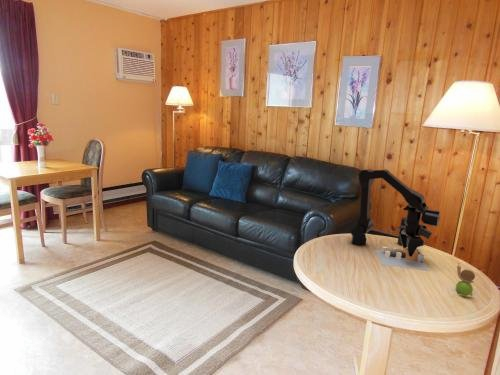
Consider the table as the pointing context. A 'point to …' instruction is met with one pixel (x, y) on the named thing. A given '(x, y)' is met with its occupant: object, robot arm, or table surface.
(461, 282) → the snail figurine
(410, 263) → the board
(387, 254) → the clips
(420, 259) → the bracket
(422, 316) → the table surface
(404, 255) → the plug
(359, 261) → the table surface
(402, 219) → the deodorant
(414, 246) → the robot arm
